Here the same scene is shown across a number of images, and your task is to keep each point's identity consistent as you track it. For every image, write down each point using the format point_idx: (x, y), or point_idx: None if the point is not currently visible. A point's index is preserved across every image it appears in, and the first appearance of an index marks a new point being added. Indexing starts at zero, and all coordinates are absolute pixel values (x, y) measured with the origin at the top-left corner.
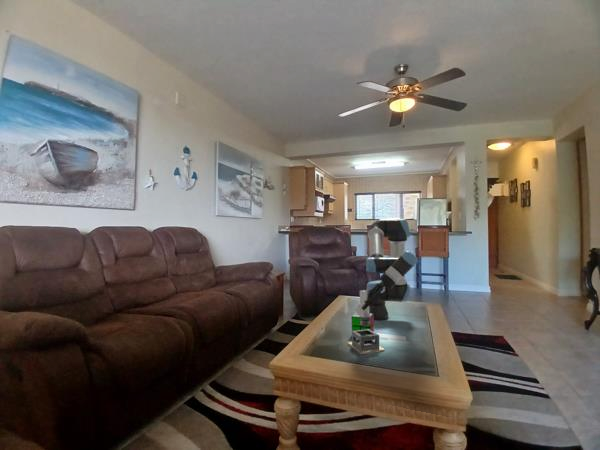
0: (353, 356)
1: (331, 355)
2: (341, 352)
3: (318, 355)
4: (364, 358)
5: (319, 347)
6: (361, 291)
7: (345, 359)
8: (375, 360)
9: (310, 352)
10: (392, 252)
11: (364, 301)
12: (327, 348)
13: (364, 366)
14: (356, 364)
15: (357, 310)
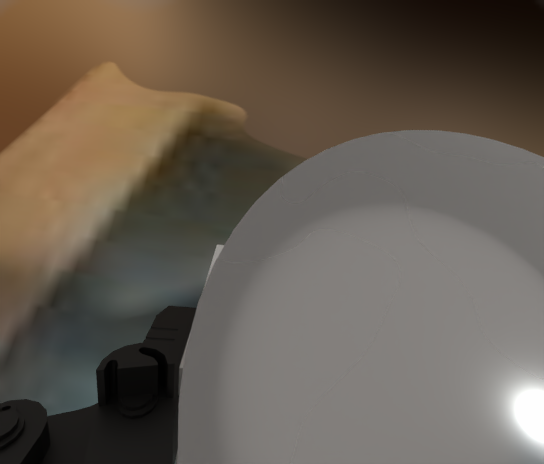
0: (140, 293)
1: (172, 200)
2: (200, 246)
3: (181, 155)
4: (102, 345)
5: (268, 168)
6: (344, 180)
7: (114, 249)
8: (57, 404)
9: (216, 133)
10: None
11: (144, 343)
12: (254, 196)
13: (4, 322)
14: (41, 288)
15: (212, 261)
